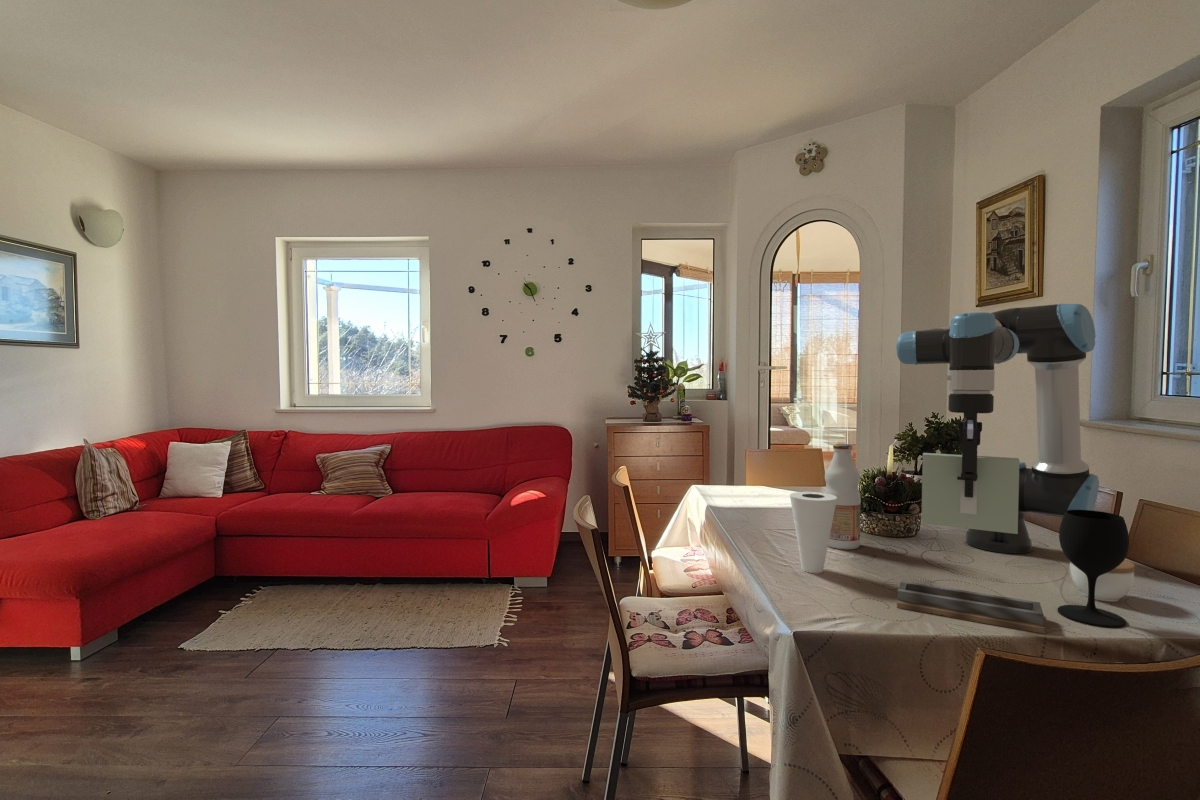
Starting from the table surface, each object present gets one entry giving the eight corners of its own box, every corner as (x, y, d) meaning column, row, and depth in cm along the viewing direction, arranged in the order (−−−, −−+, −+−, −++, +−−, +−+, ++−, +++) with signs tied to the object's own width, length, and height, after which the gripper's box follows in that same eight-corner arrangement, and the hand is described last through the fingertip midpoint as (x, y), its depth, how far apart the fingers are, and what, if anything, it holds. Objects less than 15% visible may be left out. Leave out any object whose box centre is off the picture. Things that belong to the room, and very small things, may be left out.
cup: (843, 569, 145) (844, 495, 144) (825, 580, 137) (826, 502, 137) (800, 560, 152) (801, 490, 152) (781, 570, 145) (782, 496, 144)
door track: (1038, 615, 117) (1039, 599, 117) (1044, 633, 109) (1044, 617, 109) (901, 592, 130) (901, 578, 130) (896, 607, 121) (897, 592, 121)
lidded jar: (1055, 587, 133) (1056, 545, 132) (1105, 587, 132) (1106, 545, 132) (1094, 606, 122) (1095, 560, 122) (1148, 606, 122) (1150, 560, 121)
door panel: (1016, 530, 116) (1018, 458, 115) (1017, 534, 113) (1019, 460, 113) (922, 520, 124) (923, 452, 124) (921, 523, 121) (922, 454, 121)
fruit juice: (836, 551, 160) (837, 446, 159) (816, 541, 170) (817, 443, 169) (867, 548, 162) (868, 445, 161) (846, 539, 172) (847, 442, 171)
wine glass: (1140, 630, 110) (1143, 522, 109) (1075, 625, 112) (1078, 519, 111) (1104, 608, 120) (1107, 509, 120) (1046, 604, 122) (1048, 507, 122)
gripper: (949, 391, 126) (947, 502, 127) (947, 393, 113) (944, 517, 114) (992, 391, 122) (989, 506, 123) (995, 393, 109) (992, 522, 110)
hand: (968, 511), depth 118 cm, fingers closed on door panel, 3 cm apart
